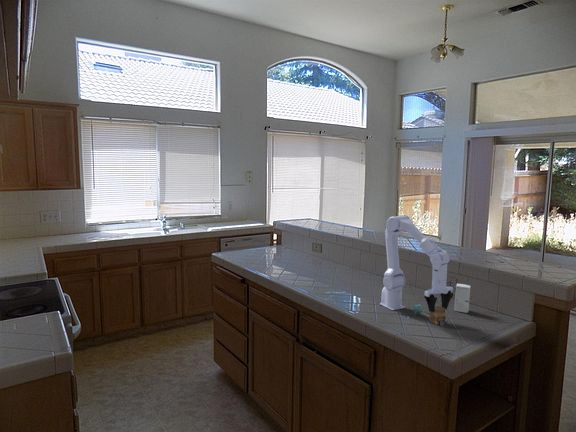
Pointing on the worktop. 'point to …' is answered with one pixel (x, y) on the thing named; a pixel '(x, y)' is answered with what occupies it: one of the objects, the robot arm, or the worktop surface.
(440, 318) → the keeper
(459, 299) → the skincare box
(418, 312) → the rail
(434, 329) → the worktop surface
